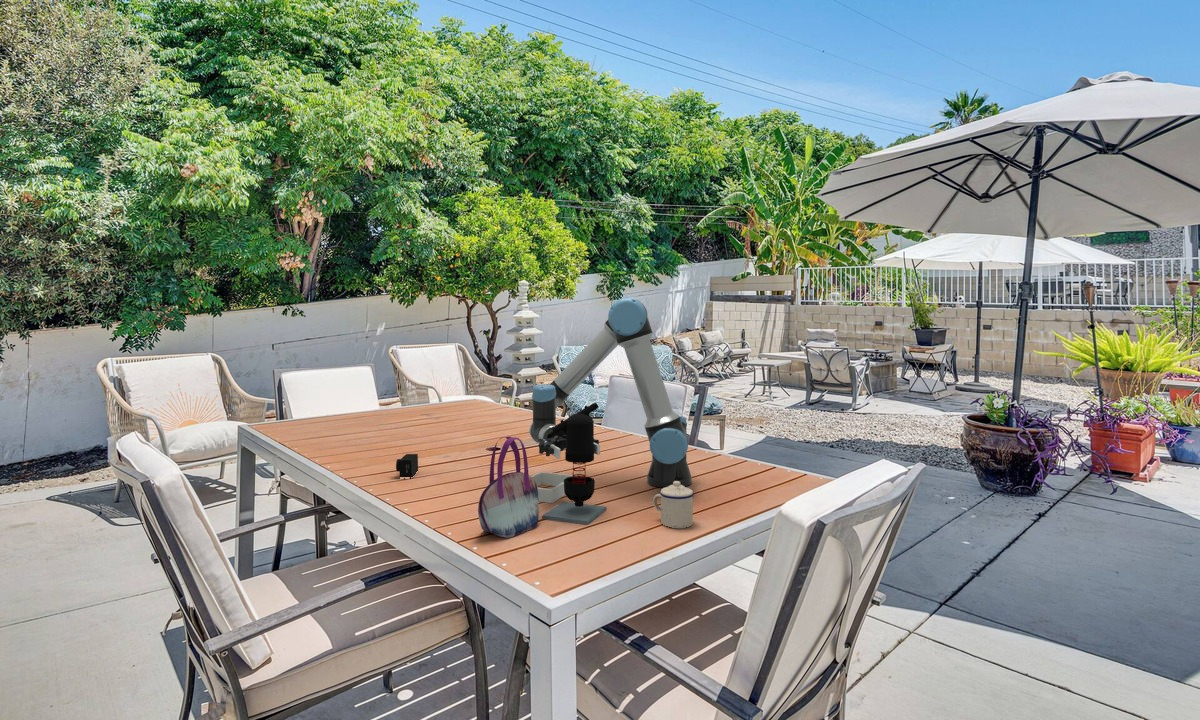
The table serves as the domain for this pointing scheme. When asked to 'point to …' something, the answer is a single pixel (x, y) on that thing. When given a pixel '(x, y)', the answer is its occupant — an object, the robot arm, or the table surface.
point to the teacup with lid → (675, 506)
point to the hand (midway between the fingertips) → (579, 451)
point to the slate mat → (574, 513)
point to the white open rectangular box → (550, 479)
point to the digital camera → (407, 465)
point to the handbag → (509, 497)
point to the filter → (579, 453)
